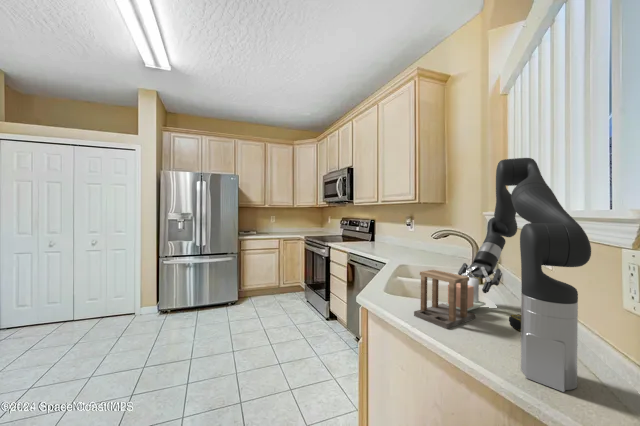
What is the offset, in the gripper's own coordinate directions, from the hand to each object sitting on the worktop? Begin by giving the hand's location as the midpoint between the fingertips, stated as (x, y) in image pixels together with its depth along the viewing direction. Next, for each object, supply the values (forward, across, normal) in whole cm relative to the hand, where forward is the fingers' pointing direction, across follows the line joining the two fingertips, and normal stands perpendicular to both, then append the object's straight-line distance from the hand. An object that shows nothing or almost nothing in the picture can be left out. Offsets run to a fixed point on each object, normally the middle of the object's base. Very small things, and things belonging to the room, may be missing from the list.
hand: (471, 288), depth 99 cm
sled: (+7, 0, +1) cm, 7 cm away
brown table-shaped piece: (+18, 0, -8) cm, 20 cm away
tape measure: (+8, +18, +2) cm, 20 cm away
